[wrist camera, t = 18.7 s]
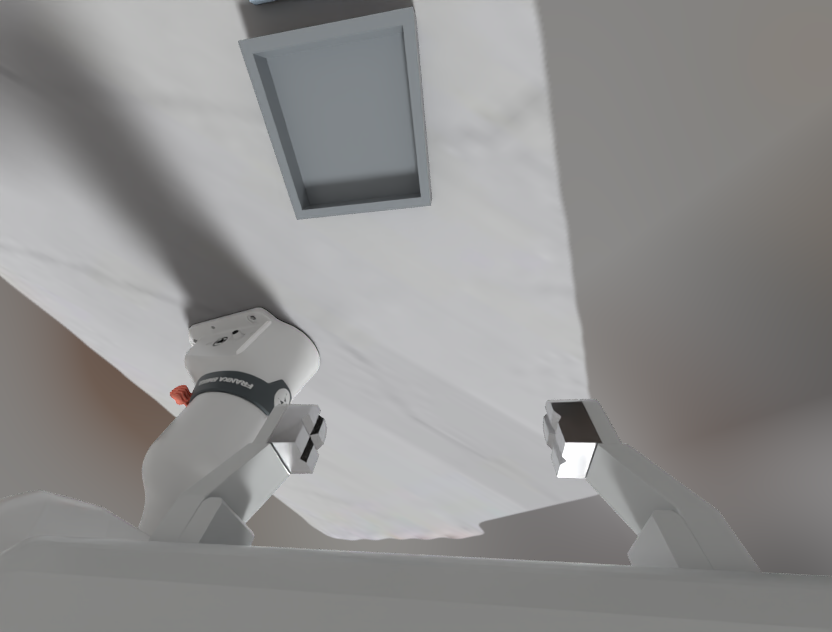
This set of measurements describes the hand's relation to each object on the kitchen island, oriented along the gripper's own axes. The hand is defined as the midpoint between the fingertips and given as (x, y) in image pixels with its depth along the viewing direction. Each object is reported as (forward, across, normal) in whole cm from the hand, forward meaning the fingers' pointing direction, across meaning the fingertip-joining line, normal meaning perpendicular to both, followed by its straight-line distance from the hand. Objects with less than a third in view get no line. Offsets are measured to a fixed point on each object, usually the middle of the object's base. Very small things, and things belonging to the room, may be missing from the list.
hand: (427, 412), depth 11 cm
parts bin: (+31, +9, -9) cm, 34 cm away
